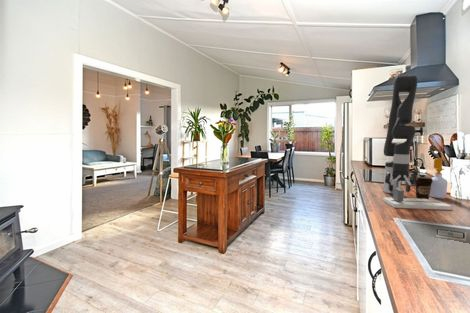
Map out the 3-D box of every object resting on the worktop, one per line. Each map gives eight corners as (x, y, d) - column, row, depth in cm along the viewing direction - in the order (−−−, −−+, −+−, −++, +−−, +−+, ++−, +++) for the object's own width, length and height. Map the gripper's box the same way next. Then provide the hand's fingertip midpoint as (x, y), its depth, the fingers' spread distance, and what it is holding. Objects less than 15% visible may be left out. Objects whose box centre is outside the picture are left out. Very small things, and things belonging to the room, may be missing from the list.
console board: (382, 200, 145) (382, 197, 145) (434, 202, 142) (434, 198, 142) (394, 207, 132) (394, 203, 132) (451, 209, 129) (451, 205, 129)
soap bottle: (430, 197, 152) (433, 158, 150) (425, 194, 161) (428, 156, 158) (448, 199, 149) (452, 158, 146) (442, 195, 157) (446, 157, 155)
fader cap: (392, 198, 140) (393, 187, 140) (398, 198, 140) (399, 188, 139) (397, 201, 135) (398, 190, 135) (403, 201, 135) (404, 190, 134)
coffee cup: (434, 201, 145) (436, 179, 143) (418, 200, 146) (420, 178, 145) (426, 197, 153) (428, 176, 152) (411, 196, 155) (413, 176, 154)
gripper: (411, 162, 138) (408, 190, 140) (384, 161, 140) (382, 189, 141) (419, 163, 131) (417, 193, 132) (390, 162, 132) (388, 192, 134)
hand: (399, 191), depth 137 cm, fingers open, 8 cm apart
